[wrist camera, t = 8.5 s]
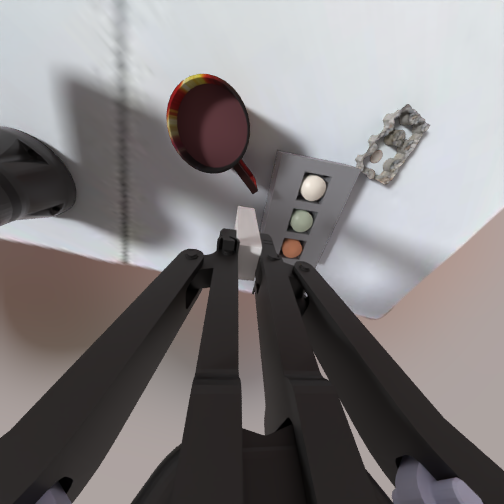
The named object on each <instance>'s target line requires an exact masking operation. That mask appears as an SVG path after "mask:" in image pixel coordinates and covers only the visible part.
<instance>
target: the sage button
mask: <svg viewBox="0 0 504 504" xmlns="http://www.w3.org/2000/svg"><path fill="white" fill-rule="evenodd" d="M289 222H290V224H291V226H292V228H293V229H294V230H295V231H297V232H304V231H306V230H308V229H309V228H310V227H311V226H312V223H313V218H312V216H311V215H310V214H309V212H308V211H307V210H302V209H296V208H293V211H292V214H291V218H290V221H289Z"/></svg>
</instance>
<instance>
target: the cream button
mask: <svg viewBox="0 0 504 504" xmlns="http://www.w3.org/2000/svg"><path fill="white" fill-rule="evenodd" d="M325 190H326V184H325V181H324V180H323V179H322V178H320V177H319V176H317V175H315V174H313V173H308V174H305V175H304V176H303V179H302V183H301V186H300V189H299V192H300V193H301V195H302V196H303V197H304V198H305V199H306V200H308V201H315V200H318V199H319V198H321V197H322V196H323V194H324V192H325Z"/></svg>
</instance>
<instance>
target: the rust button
mask: <svg viewBox="0 0 504 504" xmlns="http://www.w3.org/2000/svg"><path fill="white" fill-rule="evenodd" d="M281 248H282V251H283V254H284V255H285V256H286V257H288V258H294V257H297V256H298V255H299V254H300V253H301V251H302V246H301V244H300V242H299V240H296V239H289V238H284V240H283V243H282V246H281Z"/></svg>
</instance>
